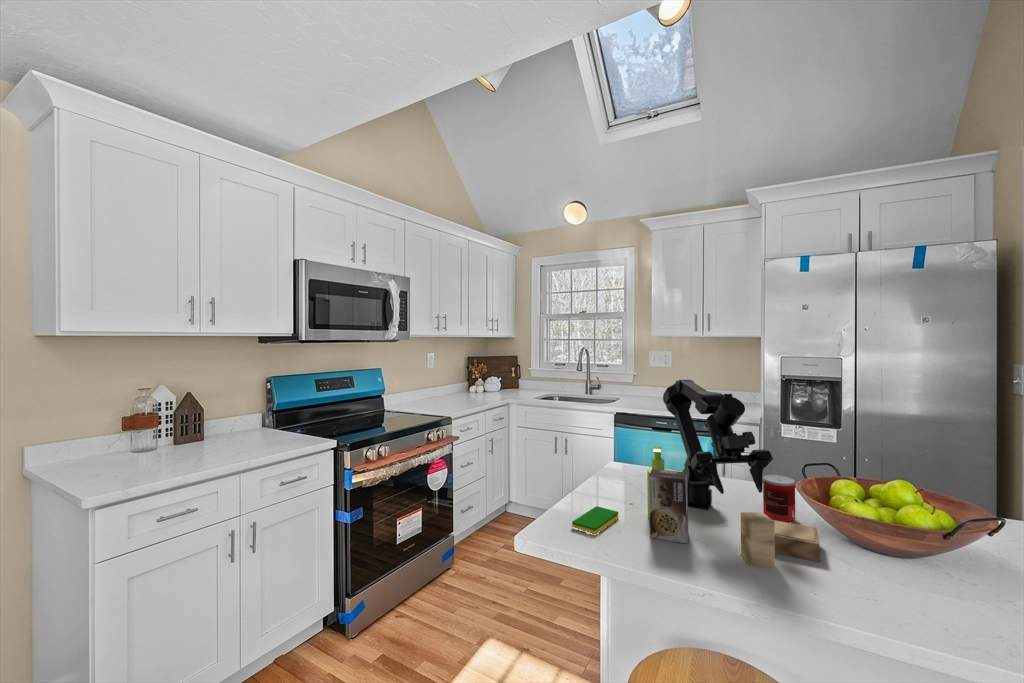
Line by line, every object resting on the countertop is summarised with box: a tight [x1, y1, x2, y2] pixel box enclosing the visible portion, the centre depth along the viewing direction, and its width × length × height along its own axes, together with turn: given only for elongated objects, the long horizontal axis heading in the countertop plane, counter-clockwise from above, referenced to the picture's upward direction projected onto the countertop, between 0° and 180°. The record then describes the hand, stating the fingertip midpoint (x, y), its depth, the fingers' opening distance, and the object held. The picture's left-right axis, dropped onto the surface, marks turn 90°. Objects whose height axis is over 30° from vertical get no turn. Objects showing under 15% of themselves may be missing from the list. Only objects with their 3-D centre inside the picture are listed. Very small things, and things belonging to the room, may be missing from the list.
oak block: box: [740, 511, 776, 567], centre depth 101 cm, size 5×5×10 cm
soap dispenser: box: [646, 445, 666, 519], centre depth 125 cm, size 6×7×20 cm
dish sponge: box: [571, 505, 619, 534], centre depth 122 cm, size 7×14×2 cm, turn 141°
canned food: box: [762, 474, 796, 523], centre depth 124 cm, size 8×8×11 cm
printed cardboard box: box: [648, 468, 690, 544], centre depth 114 cm, size 9×6×16 cm
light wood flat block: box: [773, 520, 821, 563], centre depth 107 cm, size 10×10×4 cm
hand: (741, 492), depth 109 cm, fingers open, 9 cm apart
